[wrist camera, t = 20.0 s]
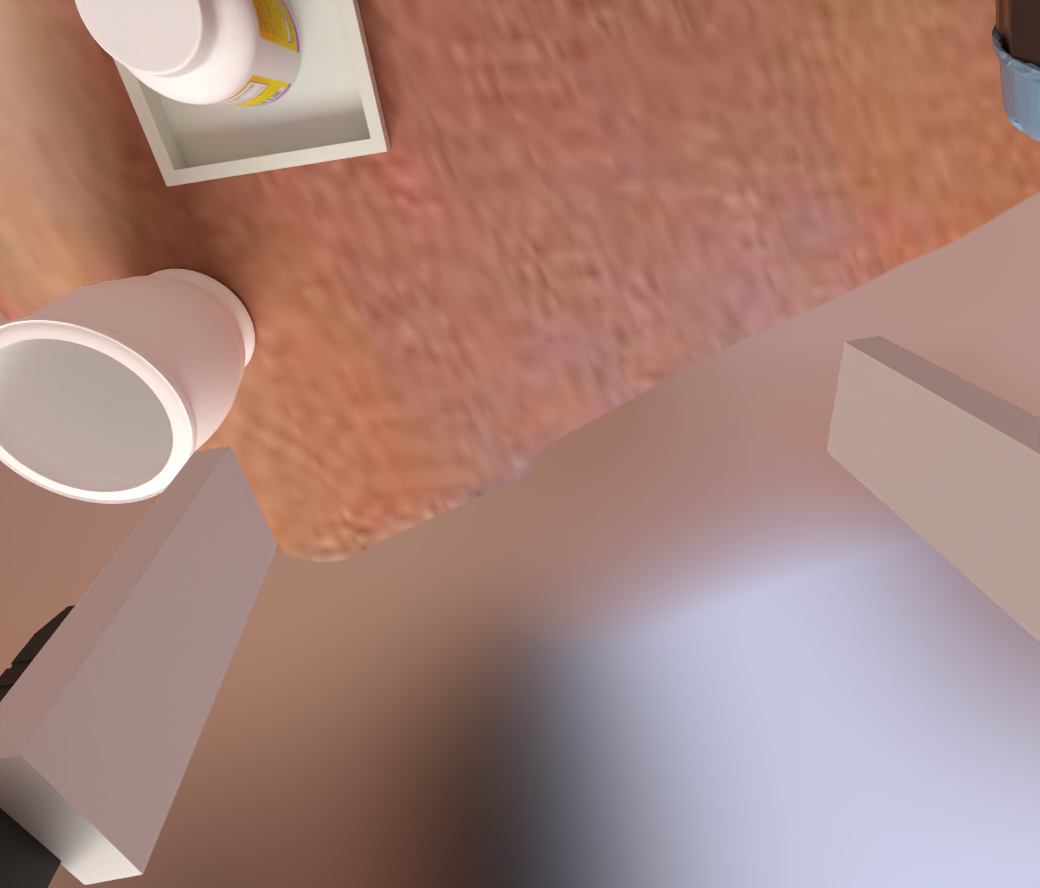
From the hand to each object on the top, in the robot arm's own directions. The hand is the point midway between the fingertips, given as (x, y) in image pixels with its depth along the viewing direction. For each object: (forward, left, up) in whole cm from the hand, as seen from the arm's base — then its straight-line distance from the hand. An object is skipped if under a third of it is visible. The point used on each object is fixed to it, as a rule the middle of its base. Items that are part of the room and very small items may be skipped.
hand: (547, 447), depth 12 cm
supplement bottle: (+12, -12, -31) cm, 36 cm away
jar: (+22, +4, -32) cm, 39 cm away
